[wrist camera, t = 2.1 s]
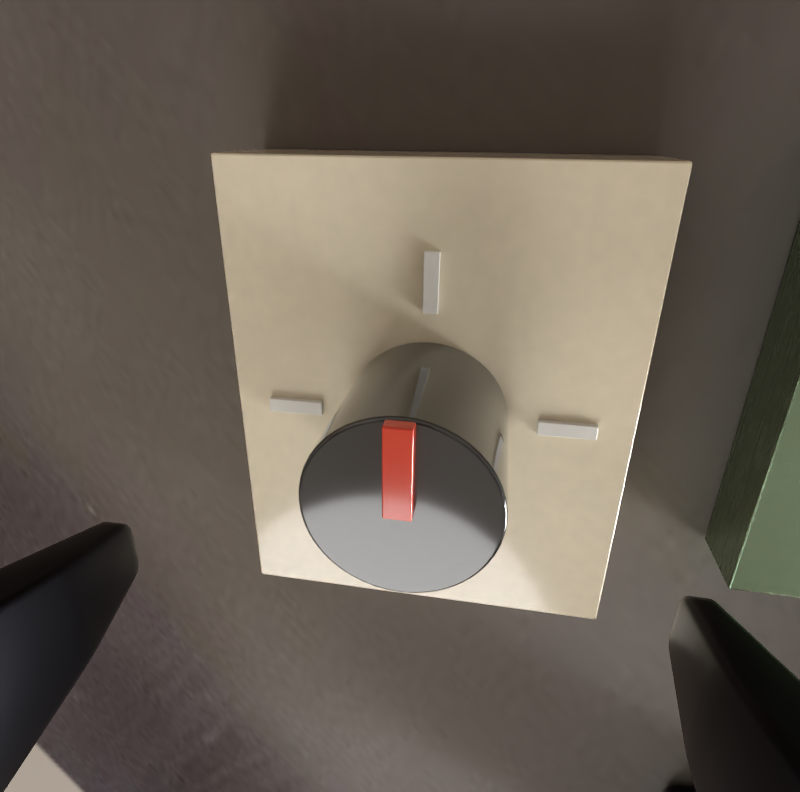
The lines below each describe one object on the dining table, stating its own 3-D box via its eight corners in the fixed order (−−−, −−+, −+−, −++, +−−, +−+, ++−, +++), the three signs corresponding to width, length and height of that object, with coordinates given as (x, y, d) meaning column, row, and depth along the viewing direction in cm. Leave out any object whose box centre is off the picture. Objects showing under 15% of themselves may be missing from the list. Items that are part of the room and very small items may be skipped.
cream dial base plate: (583, 550, 19) (596, 624, 16) (294, 515, 20) (258, 578, 17) (657, 155, 14) (696, 161, 11) (262, 148, 15) (205, 152, 12)
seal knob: (500, 491, 15) (497, 619, 11) (351, 475, 15) (298, 591, 12) (515, 346, 13) (519, 437, 9) (347, 335, 14) (283, 415, 10)
